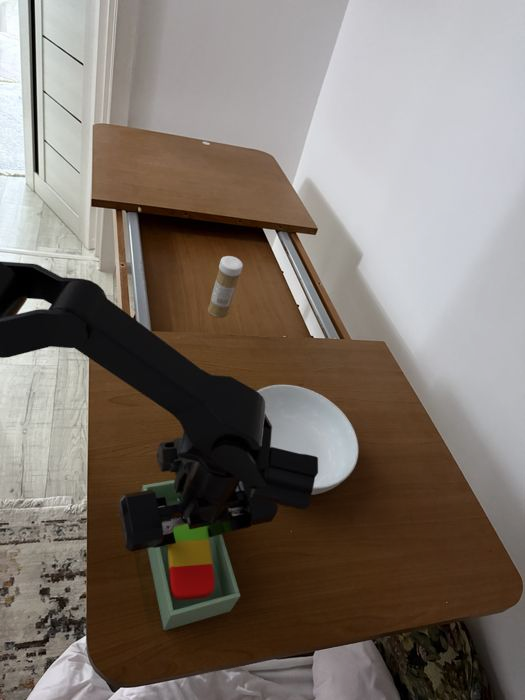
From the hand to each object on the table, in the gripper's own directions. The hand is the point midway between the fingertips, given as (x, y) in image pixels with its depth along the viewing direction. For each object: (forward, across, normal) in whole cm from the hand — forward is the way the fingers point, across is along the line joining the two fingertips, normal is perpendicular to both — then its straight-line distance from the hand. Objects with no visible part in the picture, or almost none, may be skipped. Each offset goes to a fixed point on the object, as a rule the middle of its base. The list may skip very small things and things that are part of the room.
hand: (188, 538), depth 67 cm
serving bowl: (+5, -22, -13) cm, 26 cm away
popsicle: (+1, 0, 0) cm, 1 cm away
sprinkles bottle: (+6, -20, -50) cm, 54 cm away
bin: (+5, 0, 0) cm, 5 cm away
